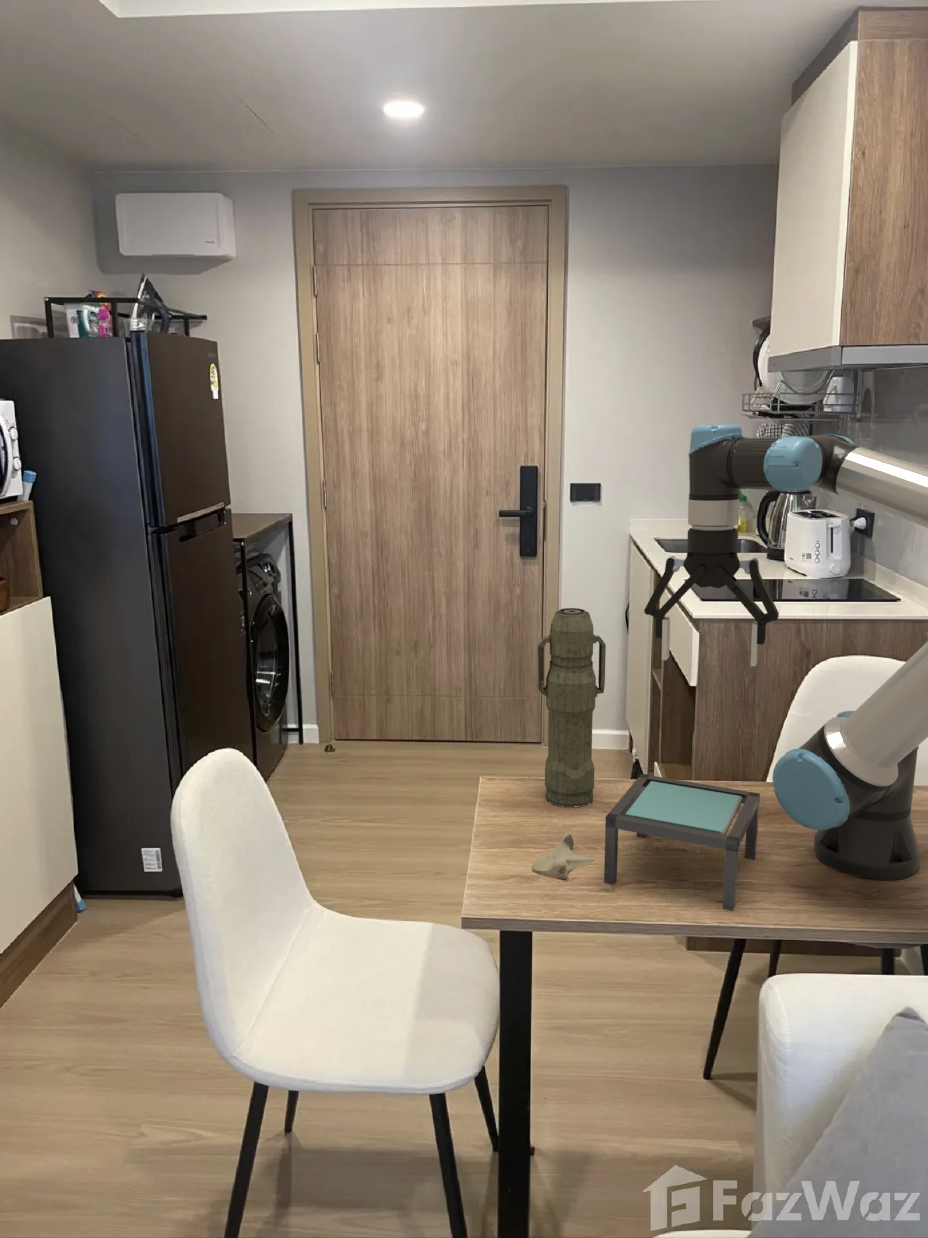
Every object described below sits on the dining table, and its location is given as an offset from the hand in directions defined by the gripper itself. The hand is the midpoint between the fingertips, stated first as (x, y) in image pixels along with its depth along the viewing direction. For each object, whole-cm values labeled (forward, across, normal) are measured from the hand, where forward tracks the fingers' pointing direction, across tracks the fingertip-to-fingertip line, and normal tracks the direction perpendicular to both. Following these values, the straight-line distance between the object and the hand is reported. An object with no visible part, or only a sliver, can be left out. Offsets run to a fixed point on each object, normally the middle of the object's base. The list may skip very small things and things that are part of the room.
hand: (708, 661), depth 145 cm
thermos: (+30, +25, -8) cm, 40 cm away
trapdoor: (+21, +1, +12) cm, 24 cm away
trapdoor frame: (+30, +2, +12) cm, 32 cm away
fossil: (+30, +19, +16) cm, 39 cm away
